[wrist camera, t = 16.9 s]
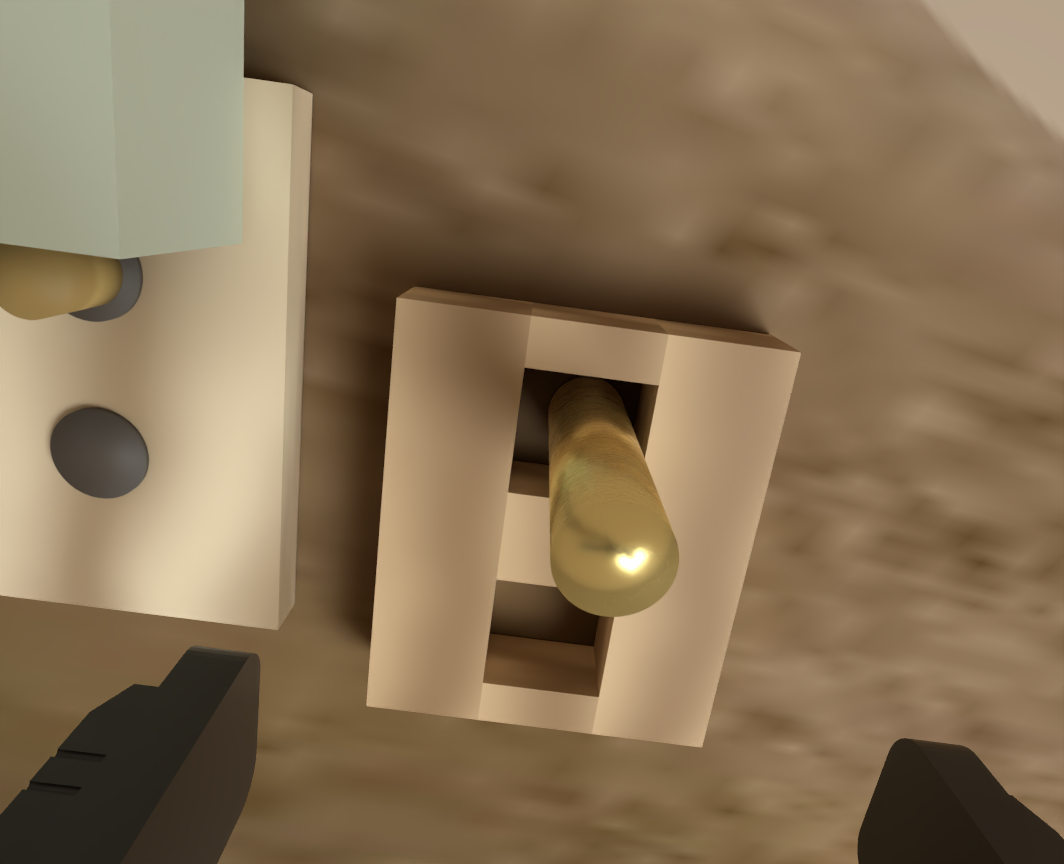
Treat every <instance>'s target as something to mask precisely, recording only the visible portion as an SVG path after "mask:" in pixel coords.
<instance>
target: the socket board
mask: <svg viewBox="0 0 1064 864" xmlns="http://www.w3.org/2000/svg"><path fill="white" fill-rule="evenodd" d="M800 355H801V352H800V351H798V350H796V349H794V348H793V347H791V346H789V345H788V344H786V343H784V342H782V341H781V340H779V339H777V338H776V337H774V336H772V335H769V334H762V333H754V332H747V331H740V330H732V329H725V328H718V327H710V326H703V325H696V324H688V323H681V322H674V321H666V320H659V319H652V318H644V317H637V316H630V315H622V314H615V313H608V312H600V311H593V310H585V309H578V308H571V307H563V306H556V305H549V304H541V303H534V302H527V301H519V300H512V299H505V298H497V297H490V296H483V295H475V294H468V293H461V292H453V291H446V290H439V289H431V288H424V287H417V286H414V287H413V288H411V289H409V290H408V291H406V292H405V293H403V294H401V295H400V296H398V297H397V299H396V313H395V326H394V340H393V353H392V367H391V381H390V394H389V408H388V421H387V435H386V448H385V462H384V475H383V489H382V502H381V516H380V530H379V543H378V557H377V570H376V584H375V597H374V611H373V624H372V638H371V651H370V665H369V679H368V692H367V706H371V707H379V708H387V709H395V710H403V711H411V712H419V713H427V714H436V715H444V716H452V717H460V718H468V719H476V720H484V721H492V722H500V723H508V724H517V725H525V726H533V727H541V728H549V729H557V730H565V731H573V732H581V733H589V734H598V735H606V736H614V737H622V738H630V739H638V740H646V741H654V742H662V743H670V744H678V745H687V746H695V747H702V745H703V741H704V737H705V733H706V729H707V725H708V721H709V717H710V713H711V709H712V705H713V701H714V697H715V693H716V689H717V685H718V681H719V677H720V673H721V669H722V665H723V661H724V657H725V653H726V649H727V645H728V641H729V637H730V633H731V630H732V626H733V622H734V618H735V614H736V610H737V606H738V602H739V598H740V594H741V590H742V586H743V582H744V578H745V574H746V570H747V566H748V562H749V558H750V554H751V550H752V546H753V542H754V538H755V534H756V530H757V526H758V522H759V518H760V514H761V510H762V506H763V502H764V498H765V494H766V490H767V486H768V482H769V478H770V475H771V471H772V467H773V463H774V459H775V455H776V451H777V447H778V443H779V439H780V435H781V431H782V427H783V423H784V419H785V415H786V411H787V407H788V403H789V399H790V395H791V391H792V387H793V383H794V379H795V375H796V371H797V367H798V363H799V359H800ZM524 368H532V369H539V370H547V371H554V372H561V373H569V374H576V375H584V376H591V377H599V378H606V379H614V380H621V381H629V382H636V383H642V387H641V393H640V398H639V404H638V409H637V414H636V420H635V425H634V432H635V435H636V437H637V440H638V443H639V445H640V448H641V450H642V453H643V455H644V458H645V461H646V463H647V466H648V468H649V471H650V474H651V476H652V479H653V481H654V484H655V486H656V489H657V492H658V494H659V497H660V499H661V502H662V504H663V507H664V510H665V512H666V515H667V517H668V520H669V522H670V525H671V528H672V530H673V533H674V535H675V538H676V541H677V544H678V549H679V566H678V571H677V574H676V577H675V579H674V582H673V584H672V585H671V587H670V588H669V590H668V591H667V592H666V594H665V595H664V596H663V597H662V598H661V599H660V600H659V601H658V602H656V603H655V604H653V605H652V606H650V607H649V608H647V609H645V610H643V611H640V612H638V613H635V614H632V615H628V616H621V617H605V616H599V620H598V625H597V631H596V636H595V642H594V647H593V646H585V645H577V644H569V643H561V642H554V641H546V640H538V639H530V638H522V637H514V636H506V635H498V634H490V625H491V617H492V610H493V602H494V595H495V587H496V580H505V581H513V582H521V583H529V584H537V585H544V586H552V587H557V585H556V583H555V581H554V579H553V576H552V572H551V566H550V504H549V465H545V464H537V463H529V462H522V461H514V460H512V458H513V451H514V443H515V436H516V428H517V421H518V413H519V405H520V398H521V390H522V383H523V375H524Z"/></svg>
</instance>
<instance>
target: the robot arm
mask: <svg viewBox="0 0 1064 864" xmlns="http://www.w3.org/2000/svg"><path fill="white" fill-rule="evenodd" d="M259 685H260V660H259V657H258V655H257V654H256V653H248V652H240V651H233V650H225V649H217V648H209V647H201V646H193V647H191V648H190V649H188V650H187V651H186V653H185V654H184V655H183V656H182V658H181V659H180V660H179V661H178V663H177V664H176V665H175V667H174V668H173V669H172V670H171V672H170V673H169V674H168V676H167V677H166V678H165V680H164V681H163V682H162V683H161V685H160V686H159V687H154V686H146V685H138V684H134V685H132V686H130V687H129V688H127V689H126V690H124V691H123V692H121V693H119V694H118V695H116V696H115V697H113V698H111V699H110V700H108V701H107V702H105V703H103V704H102V705H100V706H99V707H97V708H95V709H94V710H92V711H91V712H89V714H88V715H87V716H86V717H85V718H84V719H83V720H82V722H81V723H80V724H79V725H78V726H77V727H76V729H75V730H74V731H73V732H72V733H71V734H70V735H69V737H68V738H67V739H66V740H65V741H64V742H63V743H62V745H61V746H60V747H59V748H58V751H57V754H56V756H55V757H50V758H49V760H48V761H47V762H46V763H45V764H44V765H43V767H42V768H41V769H40V770H39V771H38V772H37V773H36V775H35V776H34V777H33V778H32V779H31V780H30V784H29V787H28V788H27V790H22V791H21V792H20V793H19V794H18V795H17V796H16V798H15V799H14V800H13V801H12V802H11V803H10V805H9V806H8V807H7V808H6V809H5V810H4V811H3V813H2V814H1V815H0V864H217V863H218V861H219V858H220V856H221V854H222V852H223V850H224V848H225V846H226V844H227V842H228V839H229V837H230V835H231V833H232V831H233V829H234V827H235V825H236V823H237V820H238V818H239V816H240V814H241V812H242V809H243V807H244V804H245V802H246V799H247V796H248V792H249V789H250V785H251V782H252V777H253V773H254V767H255V761H256V749H257V727H258V706H259ZM858 862H859V864H1064V839H1063V838H1062V837H1061V836H1060V835H1059V834H1058V833H1057V832H1056V831H1055V830H1054V829H1053V828H1051V827H1050V826H1049V825H1048V824H1046V823H1045V822H1044V821H1043V820H1041V819H1040V818H1039V817H1038V816H1037V815H1035V814H1034V813H1033V812H1032V811H1030V810H1029V809H1028V808H1027V807H1025V806H1024V805H1023V804H1022V803H1021V802H1019V801H1018V800H1017V799H1016V798H1014V797H1013V796H1012V795H1009V794H1008V793H1007V792H1006V791H1005V790H1004V788H1003V787H1002V786H1001V785H1000V783H999V782H998V781H997V780H996V779H995V777H994V776H993V775H992V774H991V772H990V771H989V770H988V769H987V768H986V766H985V765H984V764H983V763H982V761H981V760H980V759H979V758H978V757H977V755H976V754H975V753H974V752H973V751H971V750H970V749H969V748H967V747H964V746H961V745H954V744H946V743H938V742H930V741H923V740H915V739H907V738H903V739H900V740H897V741H896V742H895V743H894V744H893V746H892V747H891V749H890V751H889V753H888V756H887V758H886V761H885V764H884V767H883V769H882V772H881V775H880V777H879V780H878V783H877V785H876V788H875V791H874V793H873V796H872V799H871V801H870V804H869V807H868V810H867V812H866V815H865V818H864V820H863V823H862V826H861V829H860V832H859V837H858Z"/></svg>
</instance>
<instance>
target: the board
mask: <svg viewBox="0 0 1064 864" xmlns="http://www.w3.org/2000/svg"><path fill="white" fill-rule="evenodd" d="M312 98H313V94H312V93H310V92H308V91H306V90H304V89H301V88H299V87H297V86H295V85H293V84H286V83H279V82H272V81H265V80H258V79H251V78H244V96H243V220H242V244H235V245H227V246H220V247H212V248H204V249H196V250H189V251H181V252H173V253H165V254H158V255H150V256H142V257H134V258H127V259H114V258H106V257H99V256H92V255H84V254H77V253H70V252H62V251H55V250H48V249H40V248H33V247H25V246H18V245H11V244H3V243H0V595H3V596H11V597H19V598H27V599H35V600H43V601H51V602H59V603H66V604H74V605H82V606H90V607H98V608H106V609H114V610H122V611H130V612H138V613H146V614H154V615H162V616H170V617H178V618H186V619H194V620H202V621H210V622H218V623H226V624H234V625H242V626H250V627H258V628H266V629H274V630H278V629H279V628H280V626H281V624H282V623H283V621H284V620H285V618H286V617H287V615H288V613H289V612H290V610H291V609H292V607H293V605H294V604H295V582H296V554H297V525H298V497H299V468H300V440H301V411H302V383H303V354H304V326H305V297H306V269H307V240H308V212H309V183H310V155H311V126H312Z"/></svg>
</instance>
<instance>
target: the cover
mask: <svg viewBox="0 0 1064 864" xmlns="http://www.w3.org/2000/svg"><path fill="white" fill-rule="evenodd" d="M243 96H244V0H0V243H3V244H11V245H18V246H25V247H33V248H40V249H48V250H55V251H62V252H70V253H77V254H84V255H92V256H99V257H106V258H114V259H127V258H134V257H142V256H150V255H158V254H165V253H173V252H181V251H189V250H196V249H204V248H212V247H220V246H227V245H235V244H242V220H243Z"/></svg>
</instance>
